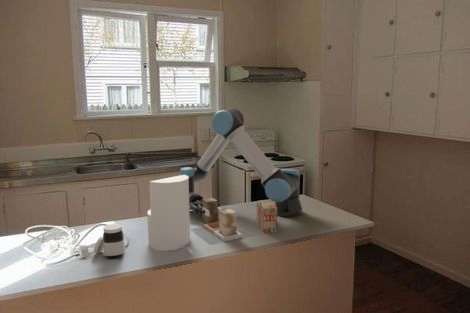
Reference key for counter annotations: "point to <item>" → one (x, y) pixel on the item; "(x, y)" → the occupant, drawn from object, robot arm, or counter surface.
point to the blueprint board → (213, 236)
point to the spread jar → (111, 242)
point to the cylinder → (169, 213)
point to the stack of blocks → (267, 215)
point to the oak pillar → (227, 222)
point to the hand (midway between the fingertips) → (214, 212)
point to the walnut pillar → (212, 206)
